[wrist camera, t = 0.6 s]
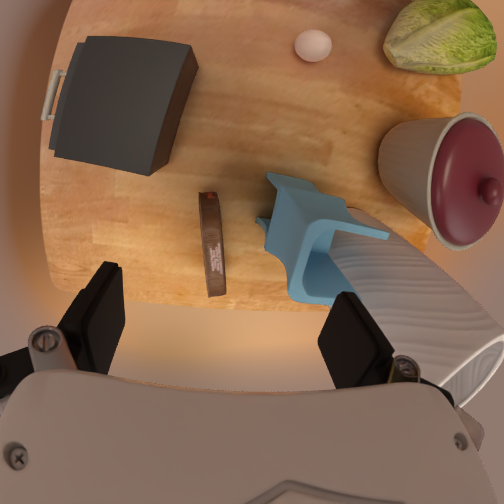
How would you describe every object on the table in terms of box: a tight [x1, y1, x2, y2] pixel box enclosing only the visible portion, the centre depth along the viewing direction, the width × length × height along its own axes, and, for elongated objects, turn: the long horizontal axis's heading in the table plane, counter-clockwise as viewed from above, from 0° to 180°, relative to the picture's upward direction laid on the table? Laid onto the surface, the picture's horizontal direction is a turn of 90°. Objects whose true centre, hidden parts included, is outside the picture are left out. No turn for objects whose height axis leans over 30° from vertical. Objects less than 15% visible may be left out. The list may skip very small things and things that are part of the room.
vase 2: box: [328, 208, 504, 408], centre depth 30 cm, size 14×14×32 cm
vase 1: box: [256, 172, 390, 305], centre depth 31 cm, size 8×8×20 cm
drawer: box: [41, 42, 85, 150], centre depth 25 cm, size 16×13×9 cm
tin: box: [199, 192, 226, 298], centre depth 37 cm, size 15×3×8 cm, turn 1°
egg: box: [294, 29, 332, 62], centre depth 27 cm, size 5×5×7 cm
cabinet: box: [54, 36, 199, 176], centre depth 26 cm, size 13×15×11 cm
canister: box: [377, 112, 504, 250], centre depth 29 cm, size 18×18×21 cm
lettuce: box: [383, 0, 497, 75], centre depth 23 cm, size 15×24×16 cm
